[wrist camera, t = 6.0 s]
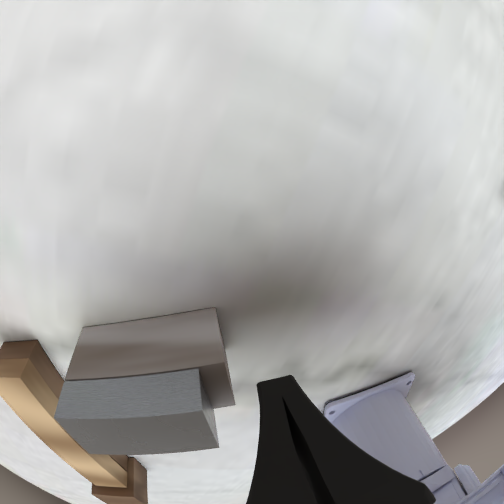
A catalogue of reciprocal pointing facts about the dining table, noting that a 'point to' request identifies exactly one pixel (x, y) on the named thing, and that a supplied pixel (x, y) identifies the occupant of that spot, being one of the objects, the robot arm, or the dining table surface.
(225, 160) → the dining table surface
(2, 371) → the arm
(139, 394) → the bar
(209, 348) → the brown grey blocky piece
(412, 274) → the dining table surface
